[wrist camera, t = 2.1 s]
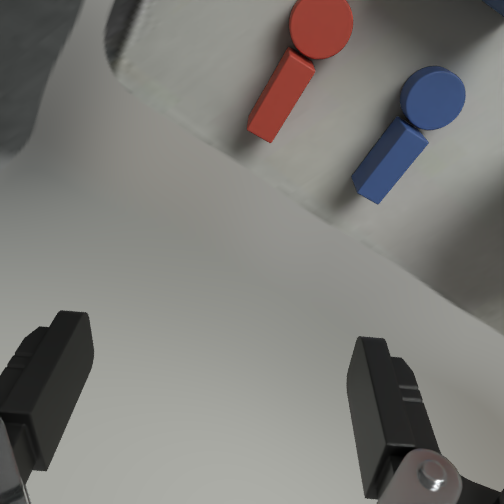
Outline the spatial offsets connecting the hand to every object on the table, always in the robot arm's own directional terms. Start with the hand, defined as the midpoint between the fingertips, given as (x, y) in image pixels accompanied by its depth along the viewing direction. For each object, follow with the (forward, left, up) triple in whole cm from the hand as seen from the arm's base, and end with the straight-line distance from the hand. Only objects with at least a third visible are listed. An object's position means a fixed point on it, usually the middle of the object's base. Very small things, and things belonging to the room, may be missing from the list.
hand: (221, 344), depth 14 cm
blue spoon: (+7, +6, -17) cm, 20 cm away
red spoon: (0, +6, -17) cm, 18 cm away
